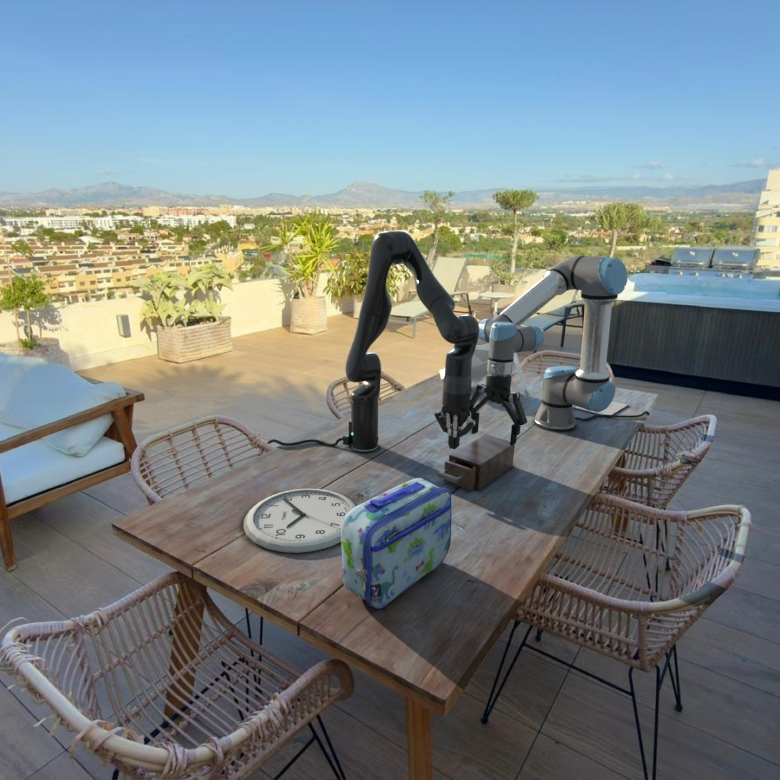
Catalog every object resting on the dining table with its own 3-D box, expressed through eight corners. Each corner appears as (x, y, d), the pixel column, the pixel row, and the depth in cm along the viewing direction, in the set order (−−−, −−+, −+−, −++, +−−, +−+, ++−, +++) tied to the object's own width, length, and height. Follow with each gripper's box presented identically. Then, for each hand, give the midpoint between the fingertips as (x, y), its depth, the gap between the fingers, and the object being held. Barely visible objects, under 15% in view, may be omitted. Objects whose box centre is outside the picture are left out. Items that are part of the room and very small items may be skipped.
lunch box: (370, 622, 101) (370, 527, 94) (335, 595, 108) (333, 505, 102) (455, 565, 118) (460, 481, 112) (420, 544, 125) (423, 465, 119)
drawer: (459, 498, 146) (461, 478, 144) (432, 487, 151) (433, 468, 150) (504, 467, 165) (506, 449, 163) (478, 458, 171) (480, 441, 169)
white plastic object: (461, 429, 252) (437, 405, 227) (444, 352, 274) (420, 323, 250) (535, 404, 240) (518, 377, 215) (510, 326, 262) (492, 293, 237)
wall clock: (362, 544, 122) (232, 548, 120) (362, 550, 123) (232, 555, 120) (359, 484, 151) (253, 486, 148) (359, 489, 151) (253, 492, 149)
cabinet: (478, 490, 152) (480, 464, 150) (447, 479, 159) (449, 454, 156) (512, 466, 168) (515, 442, 166) (483, 456, 175) (485, 434, 172)
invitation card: (608, 416, 214) (573, 407, 224) (608, 416, 214) (573, 408, 224) (628, 404, 229) (594, 396, 238) (628, 405, 229) (594, 397, 238)
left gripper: (429, 387, 143) (426, 445, 148) (470, 397, 135) (466, 458, 140) (444, 381, 148) (441, 438, 154) (485, 391, 140) (480, 450, 146)
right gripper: (457, 368, 164) (453, 431, 170) (532, 384, 149) (524, 452, 155) (470, 364, 169) (465, 425, 176) (543, 379, 154) (535, 445, 161)
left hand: (453, 447), depth 147 cm, fingers closed
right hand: (493, 438), depth 165 cm, fingers open, 13 cm apart
